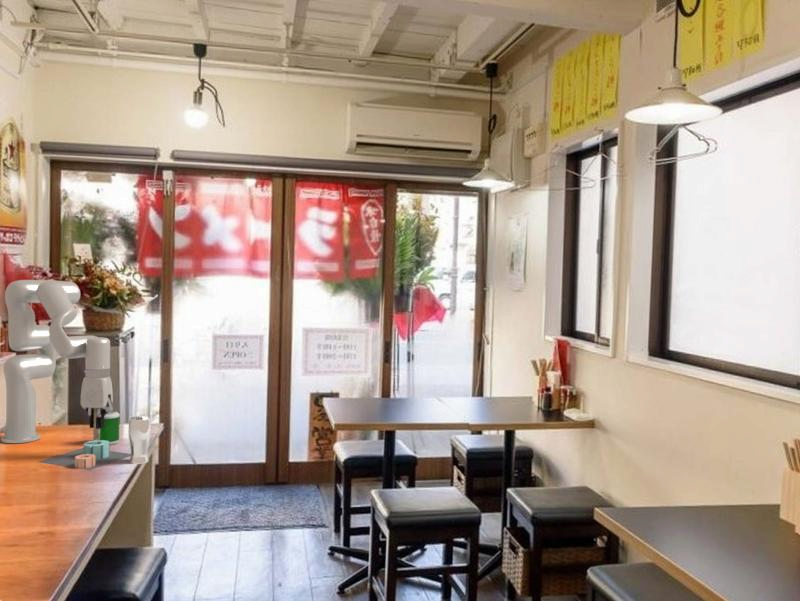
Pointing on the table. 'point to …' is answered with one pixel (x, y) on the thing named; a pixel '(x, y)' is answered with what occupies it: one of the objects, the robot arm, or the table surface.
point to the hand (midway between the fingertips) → (96, 427)
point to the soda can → (110, 427)
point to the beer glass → (139, 438)
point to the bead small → (85, 461)
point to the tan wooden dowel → (96, 431)
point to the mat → (69, 457)
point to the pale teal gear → (97, 448)
